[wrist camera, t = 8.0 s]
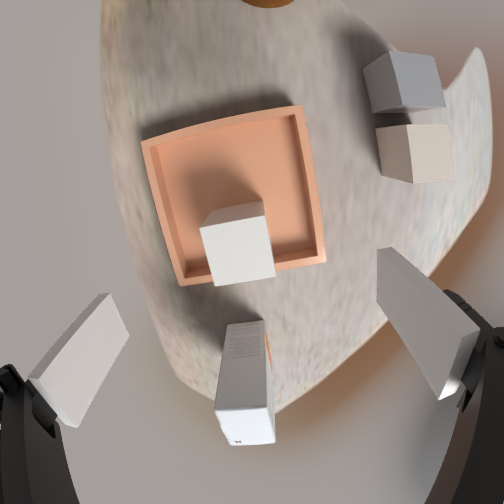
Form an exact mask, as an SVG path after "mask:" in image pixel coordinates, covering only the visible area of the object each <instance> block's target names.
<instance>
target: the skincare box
mask: <svg viewBox="0 0 504 504" xmlns="http://www.w3.org/2000/svg"><path fill="white" fill-rule="evenodd" d="M214 412H215V414H216V416H217V418H218V421H219V423H220V426H221V429H222V431H223V433H224V434H225V436H226V438H227V440H228V442H229V444H230V445H256V444H268V443H275V441H276V440H275V418H274V398H273V381H272V361H271V355H270V350H269V345H268V340H267V333H266V327H265V321H264V320H260V321H252V322H244V323H235V324H228V325H227V329H226V335H225V342H224V348H223V354H222V360H221V366H220V373H219V379H218V385H217V392H216V399H215V406H214Z"/></svg>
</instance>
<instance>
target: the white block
mask: <svg viewBox="0 0 504 504" xmlns="http://www.w3.org/2000/svg"><path fill="white" fill-rule="evenodd" d="M199 229H200V233H201V237H202V241H203V244H204V248H205V252H206V256H207V260H208V263H209V267H210V271H211V274H212V278H213V281H214V285H215V286H222V285H228V284H234V283H241V282H247V281H253V280H259V279H265V278H271V277H276V272H275V264H274V257H273V249H272V244H271V238H270V233H269V227H268V222H267V217H266V211H265V206H264V201H263V200H261V201H255V202H250V203H245V204H239V205H234V206H229V207H224V208H219V209H215V210H213V211H212V212H211V213H210V214H209V216H208V217H207V218H206V220H205V221H204V222H203V224H202V225H201V226H200V228H199Z"/></svg>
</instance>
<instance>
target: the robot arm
mask: <svg viewBox="0 0 504 504" xmlns="http://www.w3.org/2000/svg"><path fill="white" fill-rule="evenodd" d="M377 303H378V304H379V306H380V307H381V309H382V310H383V312H384V313H385V315H386V316H387V317H388V319H389V320H390V322H391V323H392V325H393V326H394V328H395V329H396V331H397V332H398V334H399V336H400V337H401V339H402V340H403V342H404V343H405V345H406V347H407V348H408V350H409V351H410V353H411V355H412V356H413V358H414V359H415V361H416V363H417V364H418V366H419V368H420V369H421V371H422V373H423V374H424V376H425V378H426V379H427V381H428V383H429V385H430V386H431V388H432V390H433V392H434V393H435V395H436V397H437V399H438V400H440V399H442V398H444V397H447V396H449V395H451V394H453V393H455V392H456V391H457V389H458V387H459V384H460V382H461V381H462V382H463V384H464V385H465V387H466V388H465V390H464V392H463V395H462V396H461V399H460V400H459V403H458V404H457V407H458V408H459V406H460V409H459V413H458V417H457V422H456V425H455V428H454V431H453V435H452V438H451V441H450V444H449V447H448V450H447V453H446V455H445V458H444V461H443V463H442V466H441V469H440V471H439V474H438V476H437V478H436V481H435V483H434V485H433V487H432V489H431V491H430V494H429V496H428V498H427V500H426V502H425V504H503V501H504V327H496V328H494V329H493V328H492V326H491V325H490V324H489V323H488V322H486V320H485V319H483V317H481V316H480V315H479V314H478V313H477V312H476V311H475V310H474V309H472V307H471V306H470V305H469V304H468V303H466V302H465V300H463V299H462V298H461V297H460V296H459V295H458V294H456V293H454V292H452V291H450V290H444V291H442V290H440V289H439V288H438V287H437V286H436V285H435V284H434V283H433V282H432V281H431V280H429V279H428V278H427V277H426V276H425V275H424V274H423V273H422V272H420V271H419V270H418V269H417V268H416V267H415V266H414V265H412V264H411V263H410V262H409V261H408V260H407V259H405V258H404V257H403V256H402V255H401V254H399V253H398V252H397V251H396V250H395V249H393V248H392V247H389V248H384V249H378V250H377ZM128 338H129V334H128V332H127V330H126V328H125V325H124V323H123V321H122V319H121V317H120V315H119V313H118V310H117V308H116V306H115V303H114V301H113V298H112V296H111V294H110V293H106V294H99V295H98V296H97V297H96V298H95V299H94V300H93V302H92V303H91V304H90V305H89V306H88V307H87V308H86V309H85V310H84V311H83V312H82V313H81V314H80V315H79V317H78V318H77V319H76V320H75V321H74V322H73V323H72V324H71V325H70V327H69V328H68V329H67V330H66V331H65V332H64V333H63V335H62V336H61V337H60V338H59V339H58V340H57V342H56V343H55V344H54V345H53V346H52V347H51V349H50V350H49V351H48V352H47V353H46V355H45V356H44V357H43V358H42V360H41V361H40V362H39V363H38V365H37V366H36V367H35V368H34V370H33V371H32V372H31V374H30V375H29V376H28V380H27V381H26V382H24V381H23V379H22V378H21V376H20V375H19V373H18V372H17V371H16V369H15V368H14V366H13V365H12V364H8V365H5V366H3V367H1V368H0V389H1V390H2V392H1V391H0V424H1V430H0V504H79V501H78V498H77V495H76V492H75V489H74V486H73V482H72V479H71V475H70V472H69V468H68V464H67V460H66V456H65V451H64V447H63V442H62V437H61V432H60V426H59V424H58V423H57V422H56V420H55V419H56V417H57V416H58V417H59V418H60V419H61V420H62V421H63V422H64V423H65V424H66V425H69V426H72V427H76V428H78V427H79V425H80V422H81V421H82V419H83V417H84V415H85V413H86V411H87V409H88V407H89V405H90V404H91V402H92V400H93V398H94V396H95V395H96V393H97V391H98V389H99V387H100V385H101V384H102V382H103V380H104V378H105V377H106V375H107V373H108V371H109V370H110V368H111V366H112V365H113V363H114V361H115V359H116V358H117V356H118V354H119V353H120V351H121V349H122V348H123V346H124V344H125V343H126V341H127V339H128ZM460 404H461V405H460Z"/></svg>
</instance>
